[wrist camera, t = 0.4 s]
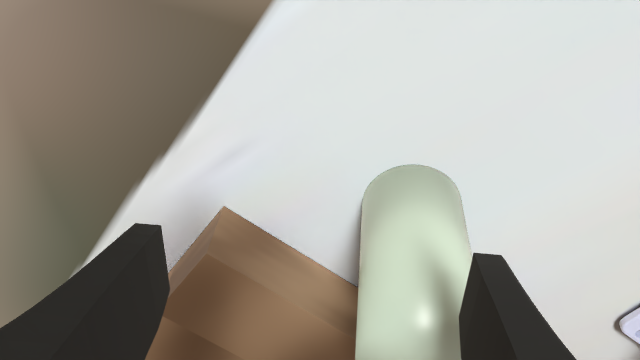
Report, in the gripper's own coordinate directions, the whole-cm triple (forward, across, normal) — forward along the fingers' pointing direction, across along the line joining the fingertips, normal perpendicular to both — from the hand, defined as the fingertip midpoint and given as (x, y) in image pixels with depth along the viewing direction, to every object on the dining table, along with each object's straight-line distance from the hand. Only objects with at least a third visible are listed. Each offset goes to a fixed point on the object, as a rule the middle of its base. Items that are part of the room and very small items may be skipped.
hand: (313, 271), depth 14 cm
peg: (+10, -3, +5) cm, 11 cm away
